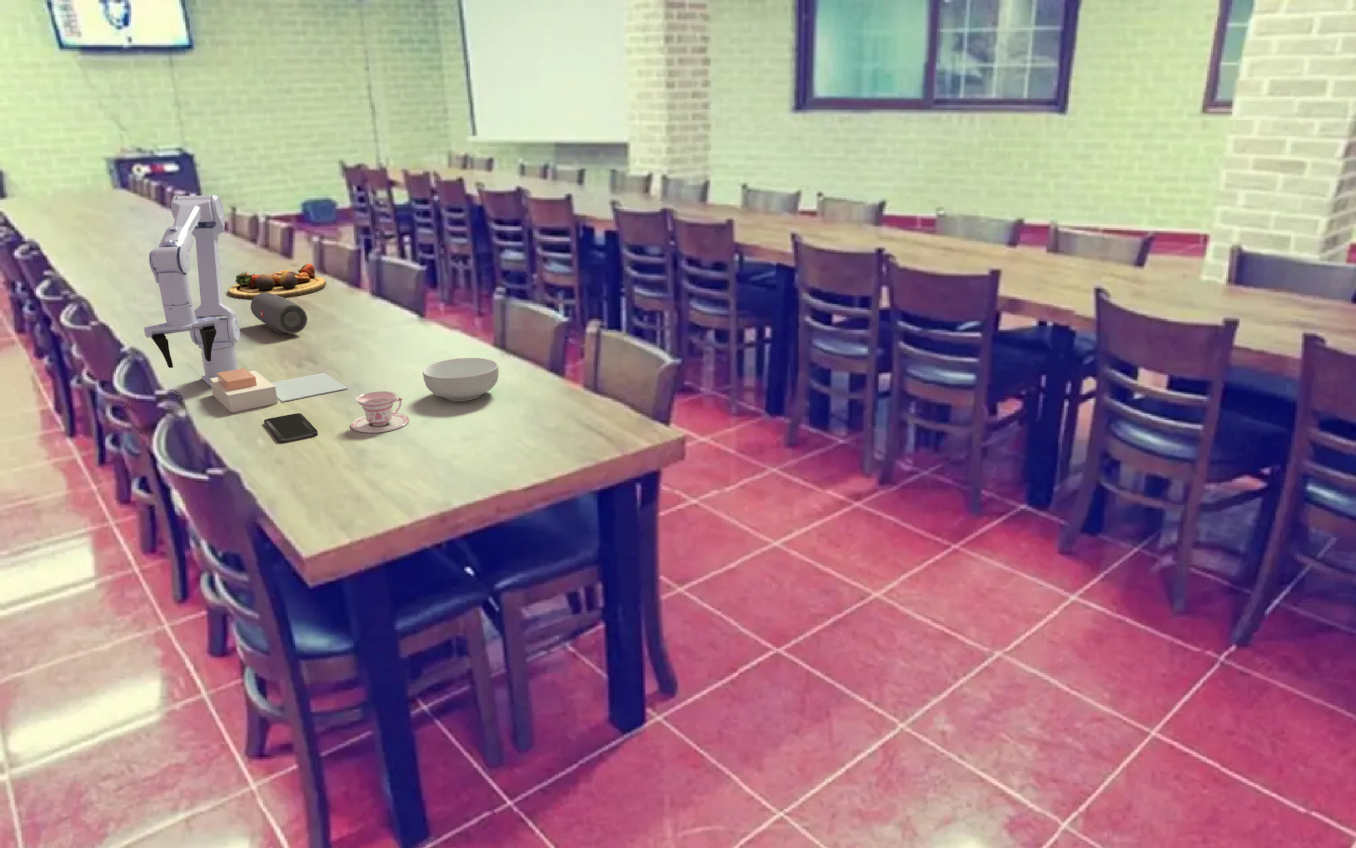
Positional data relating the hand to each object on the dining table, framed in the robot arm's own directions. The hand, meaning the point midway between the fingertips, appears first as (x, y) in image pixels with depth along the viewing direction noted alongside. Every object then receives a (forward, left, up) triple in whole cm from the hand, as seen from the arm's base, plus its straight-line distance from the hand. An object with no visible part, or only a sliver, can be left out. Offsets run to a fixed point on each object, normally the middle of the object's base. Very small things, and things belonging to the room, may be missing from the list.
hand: (189, 363), depth 205 cm
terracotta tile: (0, +9, -6) cm, 11 cm away
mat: (0, +23, -10) cm, 26 cm away
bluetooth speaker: (-60, +36, -11) cm, 71 cm away
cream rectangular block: (0, +10, -10) cm, 14 cm away
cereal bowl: (+30, +50, -11) cm, 59 cm away
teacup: (+36, +28, -11) cm, 46 cm away
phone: (+27, +12, -11) cm, 31 cm away
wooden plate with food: (-120, +53, -11) cm, 132 cm away
